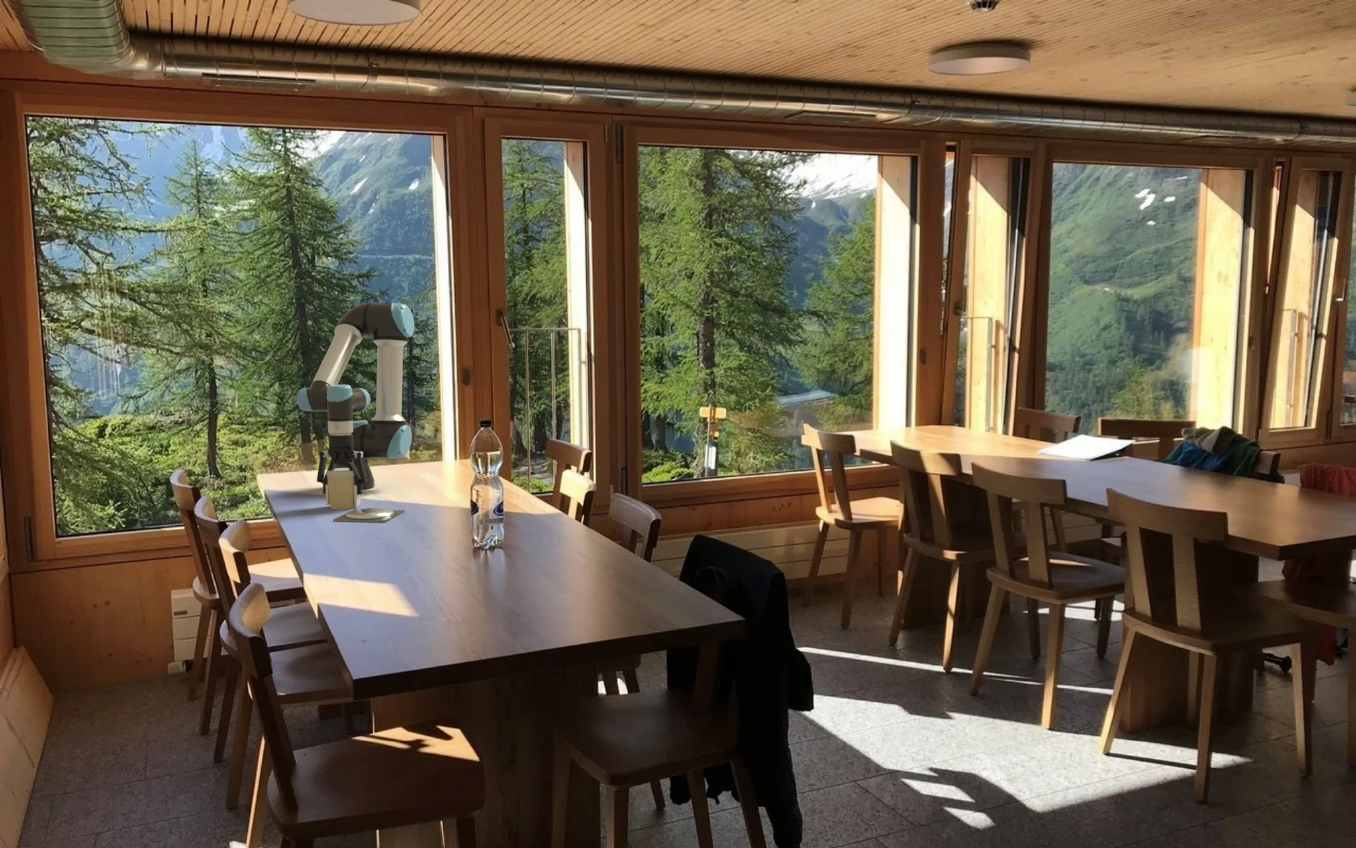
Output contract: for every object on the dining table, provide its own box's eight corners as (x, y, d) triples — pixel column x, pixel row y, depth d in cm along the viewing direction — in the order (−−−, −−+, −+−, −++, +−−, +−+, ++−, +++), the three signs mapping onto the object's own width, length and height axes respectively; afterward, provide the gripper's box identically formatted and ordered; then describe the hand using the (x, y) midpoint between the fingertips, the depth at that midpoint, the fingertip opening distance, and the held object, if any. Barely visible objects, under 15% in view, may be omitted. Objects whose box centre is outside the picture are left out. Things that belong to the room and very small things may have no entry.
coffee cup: (363, 504, 337) (362, 467, 336) (351, 510, 328) (350, 472, 327) (335, 504, 338) (334, 467, 337) (322, 509, 329) (321, 472, 327)
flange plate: (355, 510, 327) (355, 506, 327) (404, 511, 326) (404, 508, 326) (333, 521, 312) (333, 517, 311) (385, 522, 310) (384, 518, 310)
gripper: (303, 434, 328) (305, 505, 330) (368, 435, 325) (371, 507, 328) (313, 431, 335) (316, 501, 338) (378, 432, 333) (380, 503, 335)
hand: (343, 504), depth 333 cm, fingers closed on coffee cup, 9 cm apart
